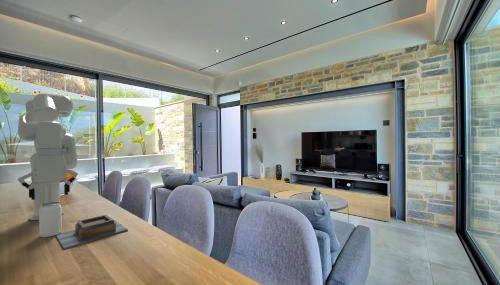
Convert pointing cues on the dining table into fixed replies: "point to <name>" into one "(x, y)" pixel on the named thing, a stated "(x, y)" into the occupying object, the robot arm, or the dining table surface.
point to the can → (50, 219)
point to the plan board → (77, 241)
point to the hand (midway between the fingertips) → (50, 196)
